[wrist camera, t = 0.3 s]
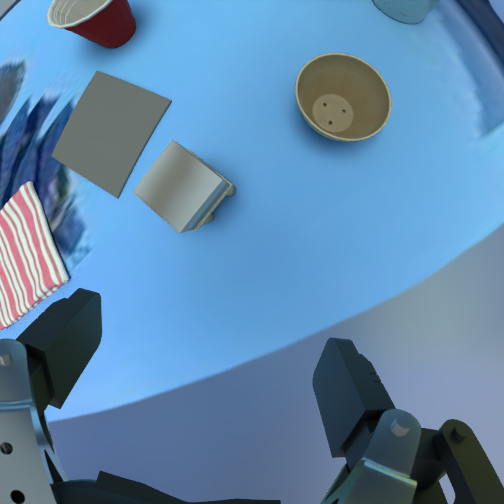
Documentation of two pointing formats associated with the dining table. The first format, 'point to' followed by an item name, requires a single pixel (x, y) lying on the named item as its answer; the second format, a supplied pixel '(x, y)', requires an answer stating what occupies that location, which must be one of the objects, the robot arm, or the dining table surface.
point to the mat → (109, 131)
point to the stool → (183, 188)
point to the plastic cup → (94, 20)
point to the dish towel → (26, 257)
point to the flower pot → (342, 97)
